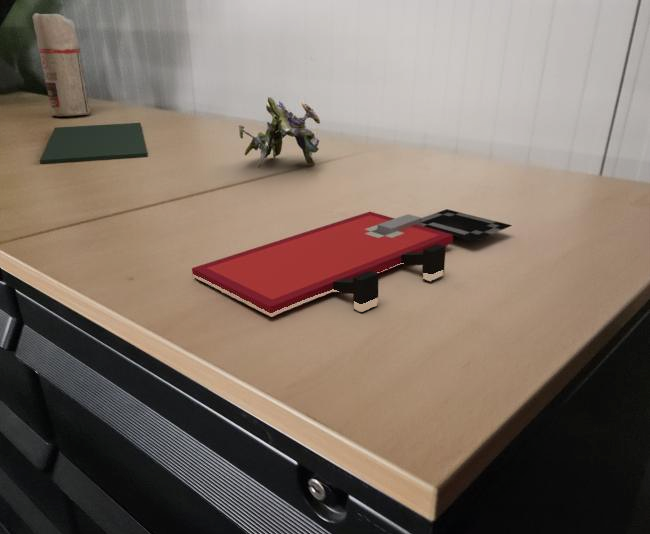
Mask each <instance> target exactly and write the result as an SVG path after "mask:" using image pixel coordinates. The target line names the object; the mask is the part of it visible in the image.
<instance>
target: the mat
mask: <svg viewBox="0 0 650 534" xmlns="http://www.w3.org/2000/svg"><path fill="white" fill-rule="evenodd" d="M146 157H149V154H148V149H147V145H146V141H145V137H144V133H143V129H142V124H141V122H128V123H127V122H126V123H112V124H111V123H110V124H94V125H91V124H90V125H76V126H73V125H72V126H59V127H54V128H53V130H52V133H51V135H50V137H49V139H48V141H47V143H46V146H45V148H44V150H43V152H42V155H41V156H40V159H39V164H40V165H46V164H63V163H74V162H76V163H77V162H90V161H104V160H117V159H133V158H146Z"/></svg>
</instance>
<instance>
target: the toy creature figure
mask: <svg viewBox="0 0 650 534" xmlns="http://www.w3.org/2000/svg"><path fill="white" fill-rule="evenodd" d="M301 106H302V108H303V110H304V111H305V114H304V116H303V117H298V116H296V115H295V114H294V113H293V112H292V111H291V110H290V109H289V108H287V107H286V106H285V105H284V104H283V102H281V101H280V100H279V101H278V104H277V103H276V100H274V98H273V97H271V96H270V97H269V96H268V97H267V103H266V105H265V109H266V111H267V112H268V114H270V116H271V117H272V120H271V122H270V121H267V122H266V124H267V128H266V130H265V133H263V132H258V133H257V136H253V135H252V134H251V133H249V132H248V131H246V130H244V129H245V126H244V125H243V124H240V125H238V129H239V138H240V139H242V140H243V139H244V134H245V135H247V136H249V137H250V138H252V140H251V141H250V143H249V145H248V146H247V148H245V151H244V156H247V155H248V154H249V153H250V152H251V151H252V150H254V151H258V149H259V150H260V160H259V164H258V167H257V168H258V169H260V167H261V166H262V165H263V162H264V160H265V159H267V157H269V156H270V155H271V154H272V157H273V158H276V157H278V156H280V155H281V152H282V149H283V139H284V138H285V137H286V136H289V137H291V138H292V137H293V138H294V139H295V141H296V144H297V145H298V147H299V148H300V149H301V150H302V153H303V156H304V159H305V161H306V163H307V164H308V165H309V166H310V165H311V166H314V165H316V161H315V159H314V157H313V153H314V154H315V153H317V152H318V151H319V150H320V149H319V147H318V146H319V143H320V140H319V138H317V137H316V135H315V133H314V132H312V130H310V129H309V128H308V127H307V126H306V120H307V119H312V120H313V121H314V122H315V123H316V124H320V123H321V121H320V117H319V116H318V115H317V113H316V112H315V110H314V109H313V108H312V107H310V106H309V105H308V104H306V103H305V102H302V103H301ZM266 144H267V145H266Z"/></svg>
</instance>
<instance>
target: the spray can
mask: <svg viewBox="0 0 650 534" xmlns="http://www.w3.org/2000/svg"><path fill="white" fill-rule="evenodd" d="M31 18H32V23H33V25H34V26H33V29H34V32H35V35H36V40H37V49H38V51H39V54H40V60H41V65H42V70H43V75H44V80H45V86H46V90H47V91H46V92H47V96H48V101H49V106H50V110H51V114H50V115H51V116H52V117H53V116H54V117H55V116H56V117H75V116H86V115H87V116H88V115H90V114H92V113H91V110H90V104H89V98H88V91H87V87H86V86H87V85H86V80H85V79H86V78H85V74H84V68H83V62H82V55H81V47H80V41H79V37H78V35H77V32H76V25H75V24H76V23H75V22H74V20H73V19H69V18H68V17H66V16H64V15H61V14H59V13H39V12H35V13H34V14H33V15H32V16H31Z"/></svg>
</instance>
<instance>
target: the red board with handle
mask: <svg viewBox="0 0 650 534" xmlns="http://www.w3.org/2000/svg"><path fill="white" fill-rule="evenodd" d="M512 226H513V225H512V224H509V223H504V222H501V221H496V220H493V219H489V218H484V217H480V216H476V215H472V214H469V213H463V212H460V211H456V210H451V209H448V208H446V209H444V210H440V211H437V212H435V213H432V214H429V215H426V216H423V217H420V216H417V215H414V214H413V215H412V214H409V213H407V214H404V215H402V216H401V215H400V216H399V217H396V218H394V217H392V216H388V215H383V214H381V213H376V212H374V211H367V212H364V213H360V214H358V215H354V216H350V217H348V218H345V219H342V220H339V221H335V222H332V223H329V224H327V225H323V226H320V227H317V228H314V229H310V230H308V231H304V232H301V233H298V234H293V235H292V236H288V237H285V238H282V239H279V240H275V241H272V242H269V243H267V244H263V245H261V246H256V247H254V248H251V249H247V250H245V251H241V252H238V253H235V254H231V255H227V256H225V257H223V258H219V259H216V260H213V261H210V262H207V263H204V264H200V265H197V266H193V267H192V268H191V272H192V275H193V274H194V275H196V276H198V277H201V278H203V279H205V280H207V281H209V282H211V283H212V284H215V285H217V286H219V287H221V288H222V289H225V290H227V291H229V292H230V293H233V294H235V295H237V296H239V297H240V298H242V299H244V300H246V301H249V302H251V303H252V304H254V305H256V306H257V307H259V308H261V309H264V310H265V311H267V312H269V313H273V312H275V311H277V310H280V309H282V308H284V307H288V306H290V305H292V304H295V303H297V302H300V301H302V300H305V299H307V298H310V297H313V296H315V295H318V294H321V293H324V292H327V291H330V290H332V289H334V290H337V291H339V292H342V293H341V294H346V295H347V294H349V295H352V302H353V301H355V302H357V303H359V304H363V303H366V302H368V301H370V300H373V299H375V298H377V297H378V298H379V274H378V273H377V272H381V271H383V270H385V269H389V268H390V267H393V266H395V265H397V264H400V263H404V264H407V265H406V266H422V268H421V273H422V272H423V273H428V274H434V273H436V272H438V271H441V270H444V271H445V263H446V248H447V246H446V245H448V244H451V243H453V241H454V237H456V238H457V237H458V238H461V239H464V240H468V241H471V242H477V241H479V240H482V239H484V238H486V237H488V236H491V235H493V234H496V233H498V232H500V231H501V232H502V231H503V230H506V229H508V228H510V227H512ZM451 245H452V244H451Z"/></svg>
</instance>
